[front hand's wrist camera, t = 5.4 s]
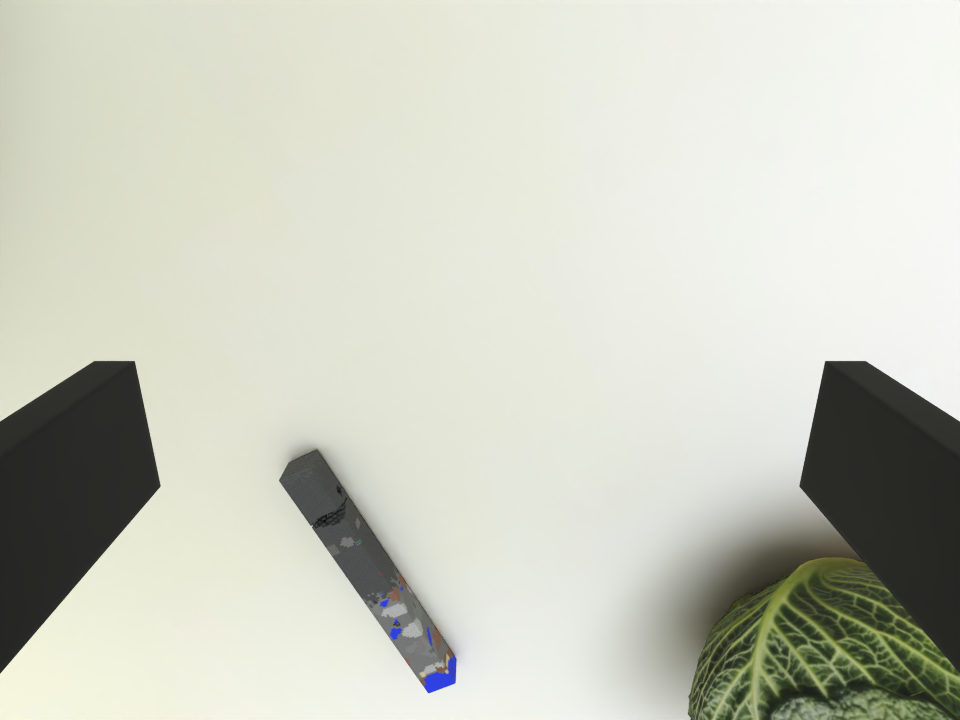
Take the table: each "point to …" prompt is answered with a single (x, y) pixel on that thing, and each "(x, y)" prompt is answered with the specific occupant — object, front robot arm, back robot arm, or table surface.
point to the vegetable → (823, 654)
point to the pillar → (369, 569)
